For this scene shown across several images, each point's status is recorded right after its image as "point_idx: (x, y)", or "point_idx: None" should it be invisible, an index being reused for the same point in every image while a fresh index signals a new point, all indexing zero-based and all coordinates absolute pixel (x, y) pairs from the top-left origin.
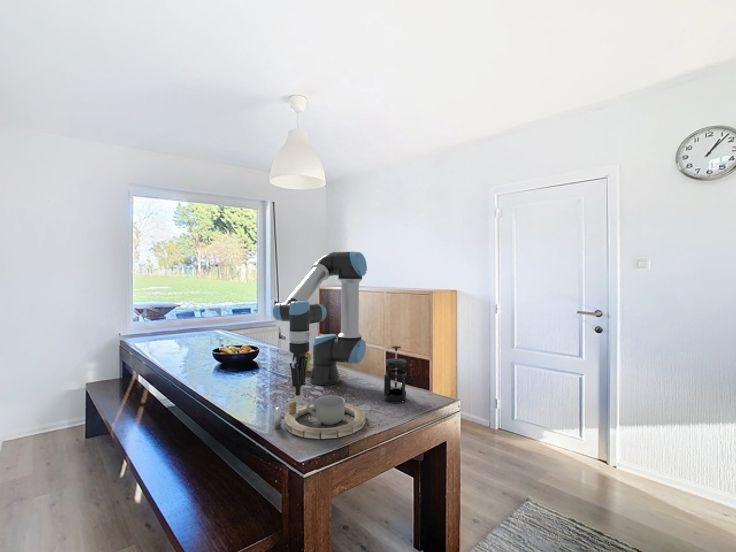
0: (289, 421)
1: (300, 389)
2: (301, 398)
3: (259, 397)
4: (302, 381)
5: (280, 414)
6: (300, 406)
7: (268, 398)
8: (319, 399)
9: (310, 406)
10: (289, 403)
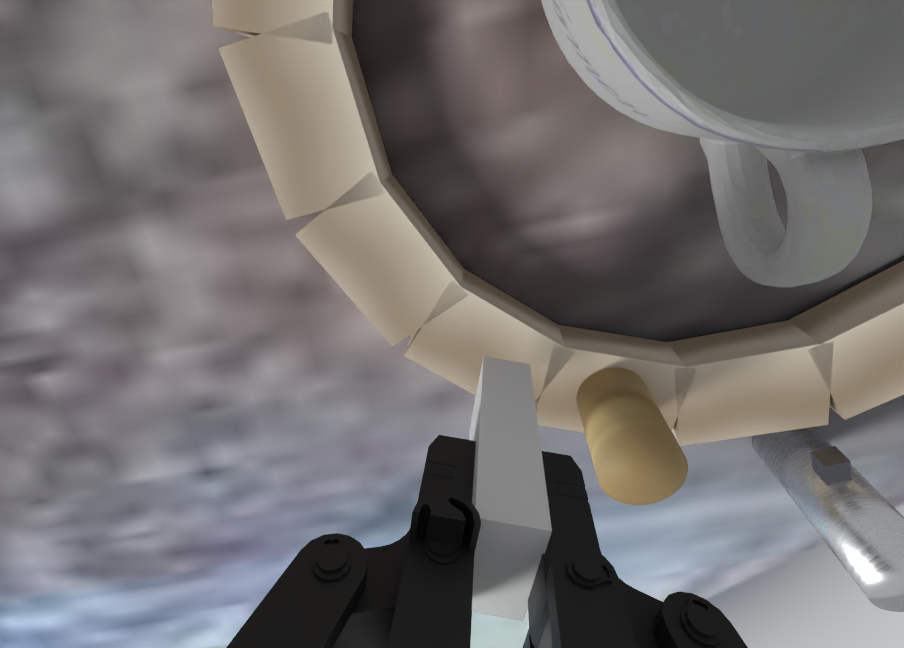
0: (848, 384)
1: (542, 506)
2: (533, 401)
3: (196, 634)
4: (468, 606)
5: (891, 506)
6: (433, 359)
7: (195, 589)
8: (708, 103)
9: (422, 258)
10: (664, 493)
